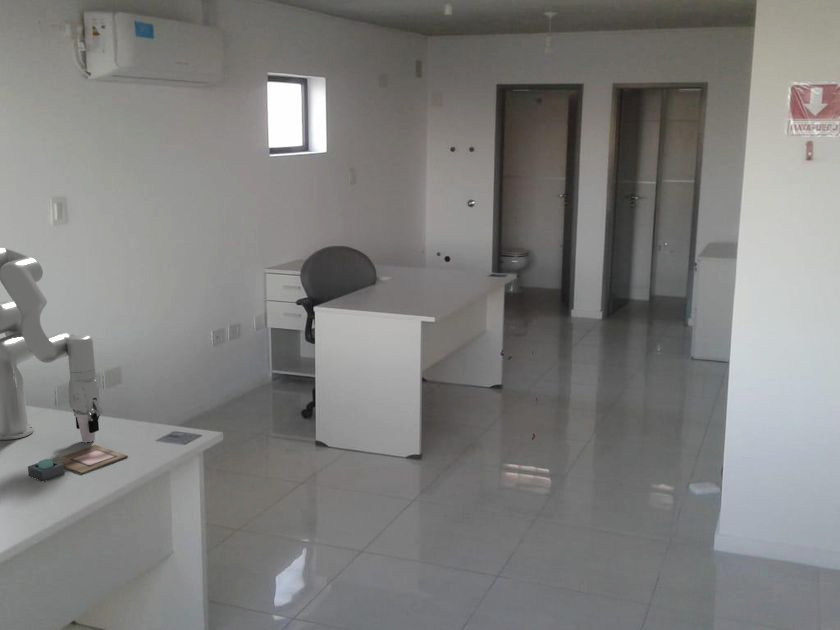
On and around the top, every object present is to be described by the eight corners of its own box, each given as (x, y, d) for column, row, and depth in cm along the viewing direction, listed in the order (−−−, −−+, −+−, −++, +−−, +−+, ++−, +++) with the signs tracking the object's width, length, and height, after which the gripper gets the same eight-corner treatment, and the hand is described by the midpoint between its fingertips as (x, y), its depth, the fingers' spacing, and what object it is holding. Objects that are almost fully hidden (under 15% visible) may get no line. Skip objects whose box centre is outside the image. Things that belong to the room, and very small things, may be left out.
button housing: (28, 476, 268) (27, 466, 267) (50, 468, 273) (49, 458, 272) (42, 481, 264) (41, 471, 263) (64, 473, 269) (63, 464, 269)
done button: (36, 472, 268) (35, 462, 267) (48, 468, 271) (47, 458, 270) (44, 475, 265) (43, 465, 265) (56, 471, 269) (55, 461, 268)
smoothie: (92, 445, 292) (88, 402, 289) (74, 443, 293) (69, 401, 290) (103, 437, 298) (99, 396, 295) (85, 436, 299) (81, 394, 296)
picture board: (49, 462, 278) (48, 460, 278) (95, 446, 290) (94, 444, 290) (81, 474, 269) (81, 472, 268) (127, 457, 281) (127, 455, 281)
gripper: (55, 373, 292) (61, 427, 296) (89, 382, 283) (94, 438, 287) (76, 367, 298) (81, 421, 302) (110, 376, 289) (114, 431, 293)
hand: (87, 429), depth 295 cm, fingers closed on smoothie, 5 cm apart
